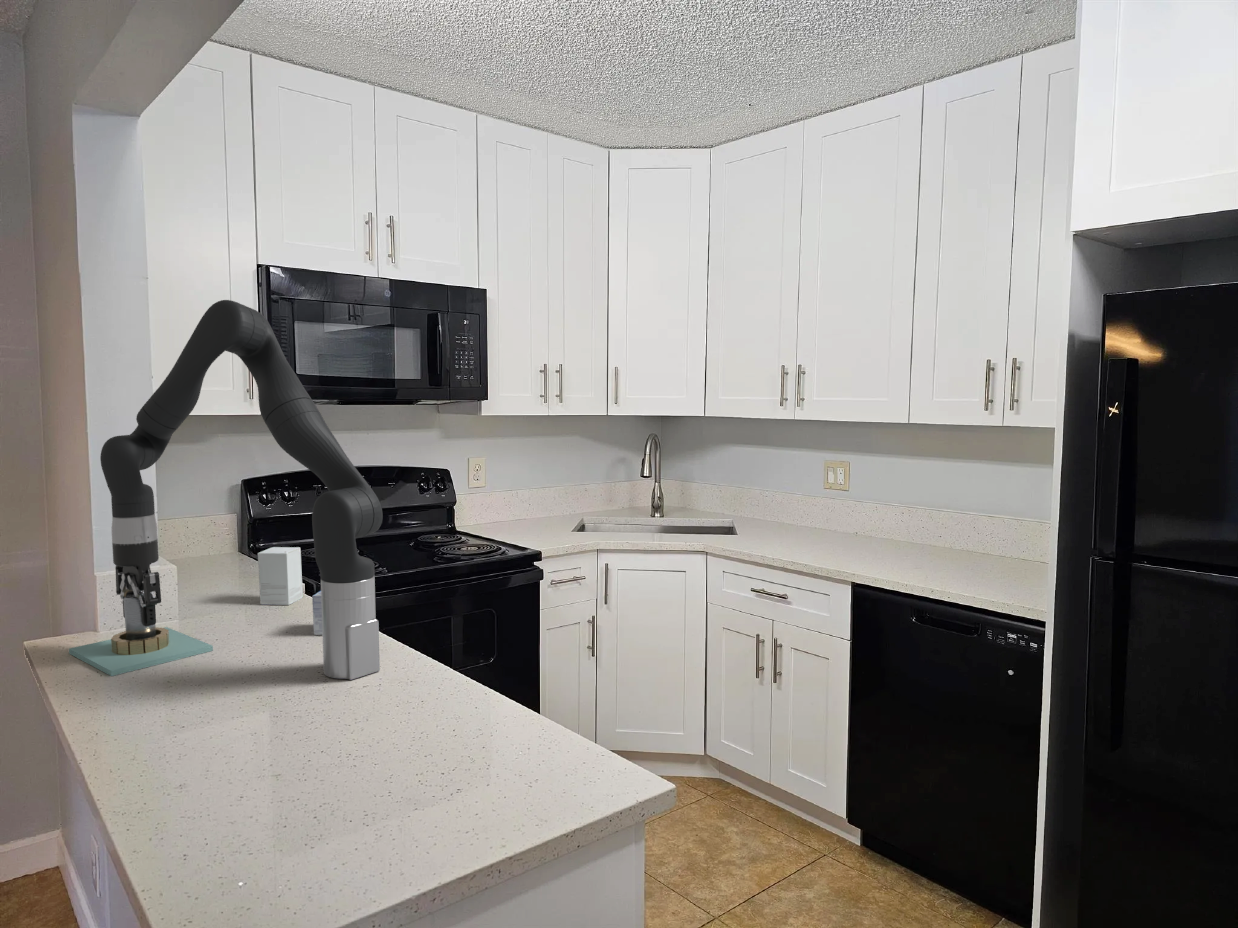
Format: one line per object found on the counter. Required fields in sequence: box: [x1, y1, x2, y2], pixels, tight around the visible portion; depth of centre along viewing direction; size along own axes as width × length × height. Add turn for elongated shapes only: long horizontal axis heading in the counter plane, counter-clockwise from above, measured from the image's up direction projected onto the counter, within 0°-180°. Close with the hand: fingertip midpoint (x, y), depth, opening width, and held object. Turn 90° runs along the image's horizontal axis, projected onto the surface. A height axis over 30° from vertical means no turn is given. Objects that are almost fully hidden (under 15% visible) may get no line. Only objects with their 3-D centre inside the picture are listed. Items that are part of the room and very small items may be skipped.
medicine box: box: [311, 590, 322, 636], centre depth 173 cm, size 8×4×9 cm, turn 179°
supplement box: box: [257, 546, 304, 606], centre depth 195 cm, size 7×7×13 cm
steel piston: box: [124, 595, 157, 640], centre depth 158 cm, size 5×5×10 cm
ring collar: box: [111, 626, 169, 655], centre depth 158 cm, size 9×9×2 cm
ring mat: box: [68, 626, 214, 677], centre depth 158 cm, size 20×18×1 cm
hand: (139, 621), depth 158 cm, fingers open, 8 cm apart
